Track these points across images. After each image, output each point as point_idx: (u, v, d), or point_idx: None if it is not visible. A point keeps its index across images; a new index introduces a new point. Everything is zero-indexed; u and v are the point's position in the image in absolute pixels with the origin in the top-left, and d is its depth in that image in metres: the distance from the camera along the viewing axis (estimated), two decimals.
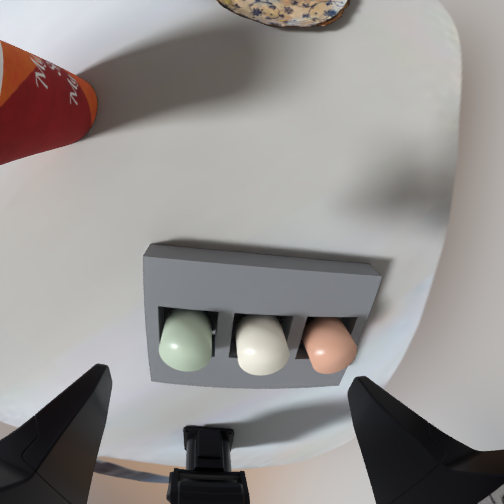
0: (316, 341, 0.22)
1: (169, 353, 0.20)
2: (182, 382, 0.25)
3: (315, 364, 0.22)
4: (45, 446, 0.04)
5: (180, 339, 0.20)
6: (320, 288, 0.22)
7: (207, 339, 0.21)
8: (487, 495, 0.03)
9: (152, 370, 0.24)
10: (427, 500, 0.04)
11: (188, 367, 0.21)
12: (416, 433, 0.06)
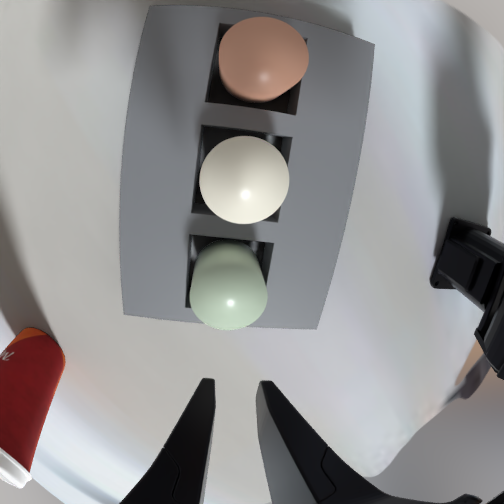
0: (234, 87, 0.12)
1: (230, 318, 0.15)
2: (323, 291, 0.18)
3: (276, 86, 0.11)
4: (191, 479, 0.05)
5: (202, 302, 0.15)
6: (155, 90, 0.13)
7: (209, 263, 0.14)
8: None
9: (295, 326, 0.19)
10: None
11: (258, 296, 0.15)
12: (303, 457, 0.06)
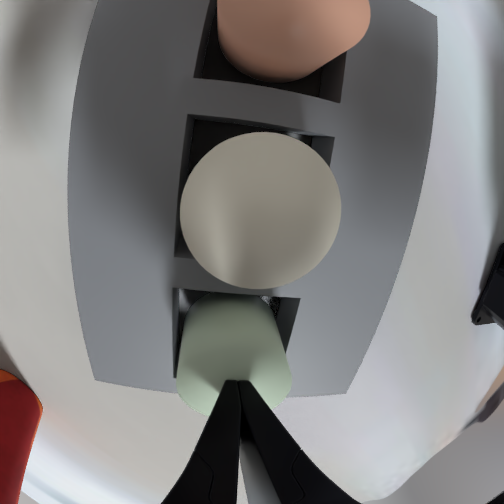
0: (244, 47, 0.06)
1: None
2: (360, 352, 0.12)
3: (321, 47, 0.05)
4: (224, 480, 0.05)
5: (195, 391, 0.09)
6: (115, 64, 0.07)
7: (203, 341, 0.09)
8: None
9: (320, 392, 0.13)
10: None
11: (278, 383, 0.09)
12: (273, 460, 0.06)
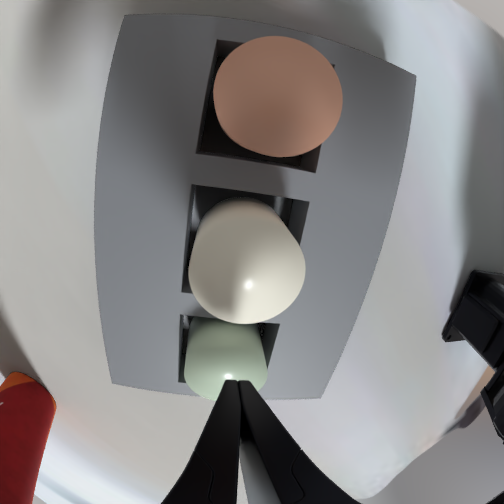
0: (235, 141, 0.09)
1: None
2: (331, 365, 0.15)
3: (296, 146, 0.08)
4: (224, 480, 0.05)
5: (197, 378, 0.13)
6: (130, 136, 0.10)
7: (204, 342, 0.13)
8: None
9: (299, 397, 0.16)
10: None
11: (257, 374, 0.13)
12: (273, 460, 0.05)
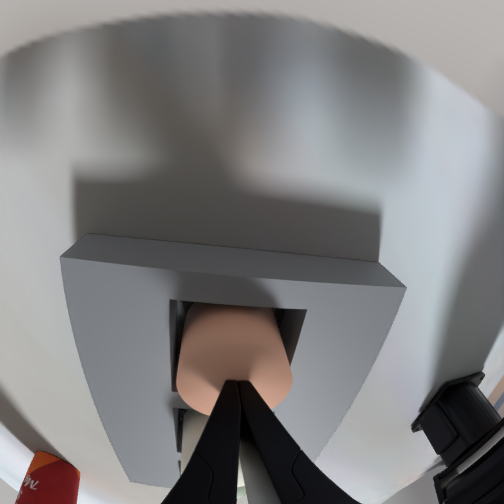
0: None
1: None
2: None
3: None
4: (224, 480, 0.05)
5: None
6: (111, 375, 0.11)
7: None
8: None
9: None
10: None
11: (239, 492, 0.14)
12: (273, 460, 0.05)
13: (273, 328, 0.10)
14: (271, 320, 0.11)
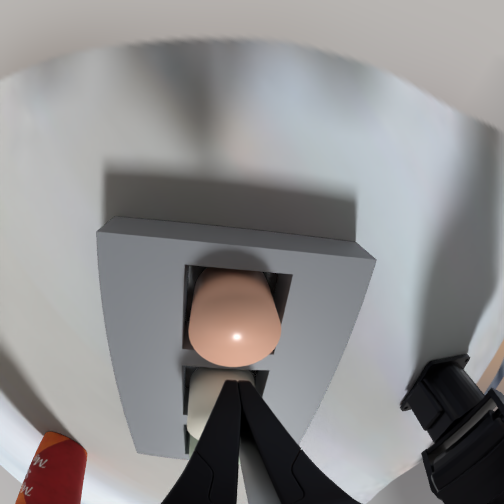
0: None
1: None
2: None
3: (247, 361, 0.13)
4: (224, 480, 0.05)
5: None
6: (130, 335, 0.13)
7: None
8: None
9: None
10: None
11: None
12: (273, 460, 0.05)
13: (266, 288, 0.13)
14: (264, 283, 0.14)
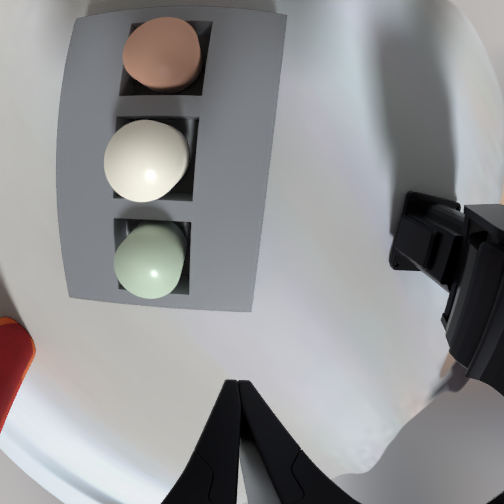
0: None
1: (150, 287, 0.16)
2: (250, 271, 0.18)
3: (169, 75, 0.12)
4: (224, 480, 0.05)
5: (124, 271, 0.15)
6: (79, 92, 0.13)
7: (128, 236, 0.15)
8: None
9: (227, 308, 0.19)
10: None
11: (171, 265, 0.16)
12: (273, 460, 0.05)
13: None
14: None
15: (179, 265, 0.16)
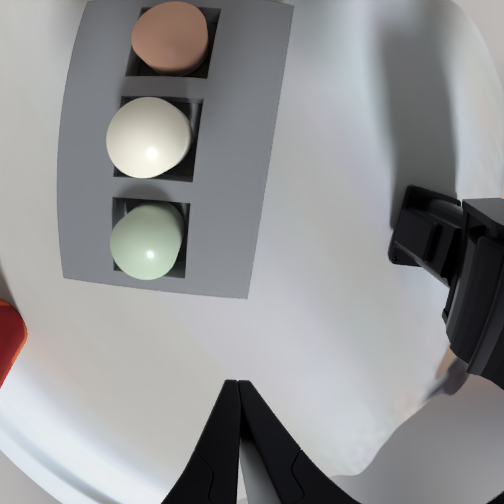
0: (146, 62, 0.12)
1: (146, 268, 0.16)
2: (248, 256, 0.18)
3: (176, 56, 0.12)
4: (224, 480, 0.05)
5: (120, 250, 0.15)
6: (86, 72, 0.12)
7: (126, 215, 0.15)
8: None
9: (223, 294, 0.19)
10: None
11: (168, 245, 0.15)
12: (273, 460, 0.05)
13: None
14: None
15: (176, 245, 0.15)
